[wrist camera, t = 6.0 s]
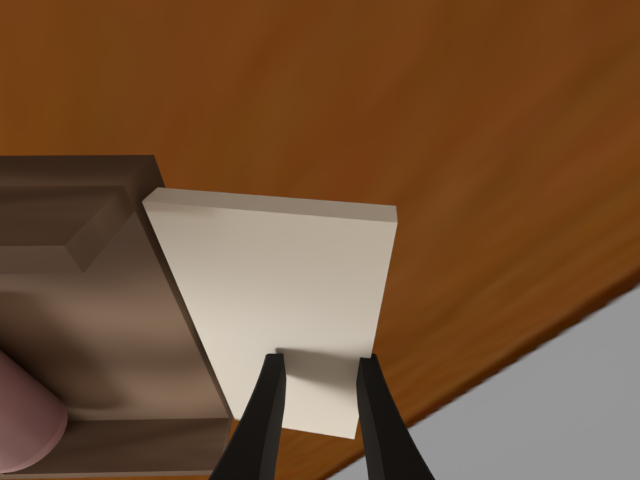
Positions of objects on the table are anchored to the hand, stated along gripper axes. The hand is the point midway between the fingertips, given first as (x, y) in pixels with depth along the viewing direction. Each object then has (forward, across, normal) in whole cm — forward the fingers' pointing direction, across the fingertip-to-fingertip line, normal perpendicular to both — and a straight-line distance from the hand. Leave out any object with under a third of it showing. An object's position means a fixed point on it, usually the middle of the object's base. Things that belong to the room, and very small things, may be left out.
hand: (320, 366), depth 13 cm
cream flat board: (+1, -5, 0) cm, 5 cm away
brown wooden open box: (+3, -11, 0) cm, 11 cm away
